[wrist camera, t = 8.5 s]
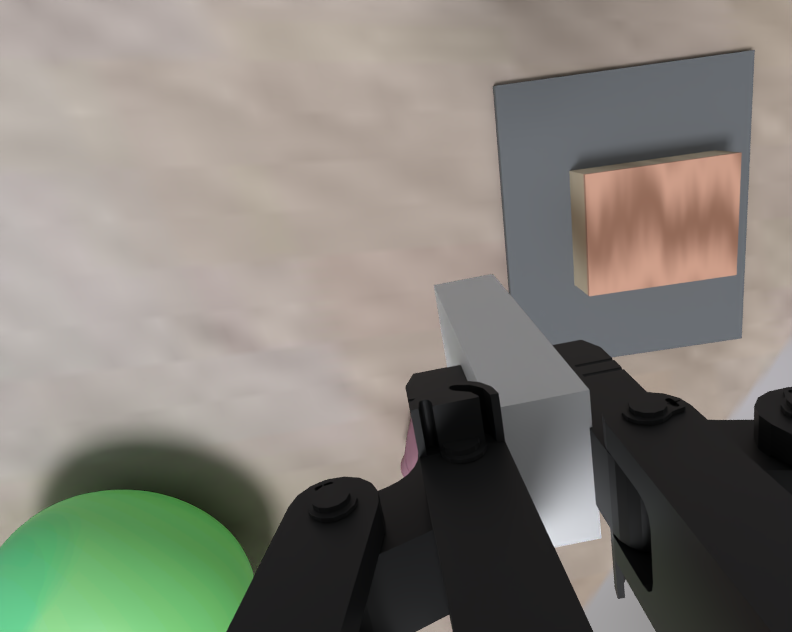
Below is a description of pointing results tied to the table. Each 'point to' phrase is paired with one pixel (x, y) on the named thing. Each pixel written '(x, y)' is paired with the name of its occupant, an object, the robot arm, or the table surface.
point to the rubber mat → (608, 145)
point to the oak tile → (655, 221)
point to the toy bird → (121, 567)
